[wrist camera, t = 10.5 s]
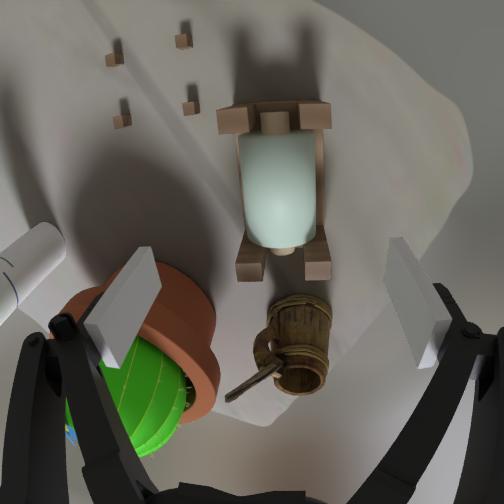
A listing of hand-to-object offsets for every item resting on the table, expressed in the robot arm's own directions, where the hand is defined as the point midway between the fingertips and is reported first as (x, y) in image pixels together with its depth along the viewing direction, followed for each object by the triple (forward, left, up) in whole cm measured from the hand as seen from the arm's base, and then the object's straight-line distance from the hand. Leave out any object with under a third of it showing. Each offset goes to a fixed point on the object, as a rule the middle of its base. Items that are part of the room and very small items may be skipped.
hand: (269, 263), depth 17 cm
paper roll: (0, 0, -18) cm, 18 cm away
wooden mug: (+19, 0, -20) cm, 27 cm away
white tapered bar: (+7, -36, -19) cm, 41 cm away
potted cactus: (+19, -19, -20) cm, 33 cm away
